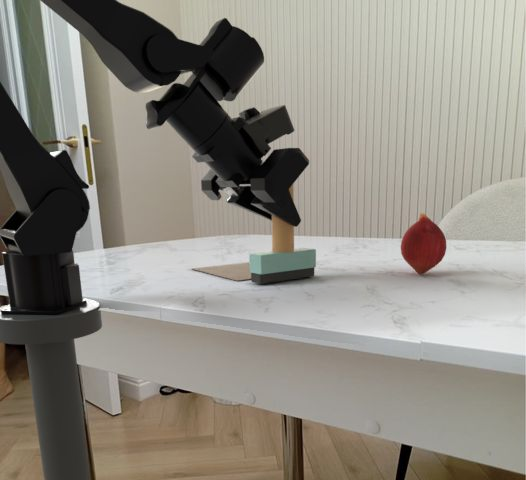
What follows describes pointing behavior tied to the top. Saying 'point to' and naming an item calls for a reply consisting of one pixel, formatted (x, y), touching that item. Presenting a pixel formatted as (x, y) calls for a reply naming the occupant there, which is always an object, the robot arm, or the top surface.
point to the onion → (423, 245)
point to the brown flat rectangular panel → (229, 271)
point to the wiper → (282, 256)
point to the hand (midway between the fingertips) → (292, 223)
